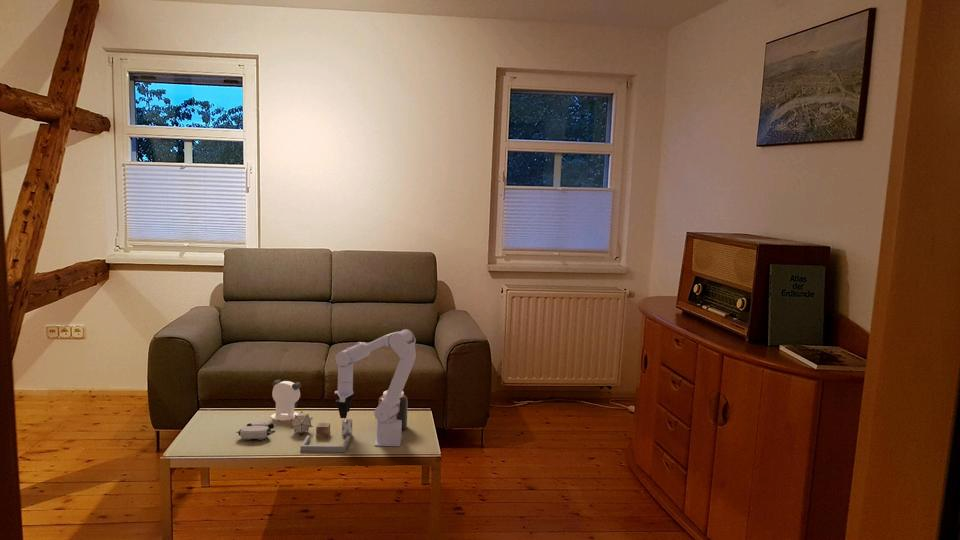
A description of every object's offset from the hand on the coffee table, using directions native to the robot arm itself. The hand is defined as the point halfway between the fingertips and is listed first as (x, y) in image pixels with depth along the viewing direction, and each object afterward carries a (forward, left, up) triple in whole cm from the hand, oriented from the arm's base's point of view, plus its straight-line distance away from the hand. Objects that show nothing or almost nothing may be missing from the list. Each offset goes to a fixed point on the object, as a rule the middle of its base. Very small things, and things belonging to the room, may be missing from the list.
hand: (344, 414), depth 237 cm
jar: (-18, -10, -9) cm, 22 cm away
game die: (+17, -3, -9) cm, 19 cm away
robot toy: (+33, +1, -9) cm, 34 cm away
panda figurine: (+28, -22, -9) cm, 36 cm away
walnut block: (+8, 0, -9) cm, 12 cm away
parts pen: (+5, +11, -8) cm, 15 cm away
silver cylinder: (-1, -1, -9) cm, 9 cm away
